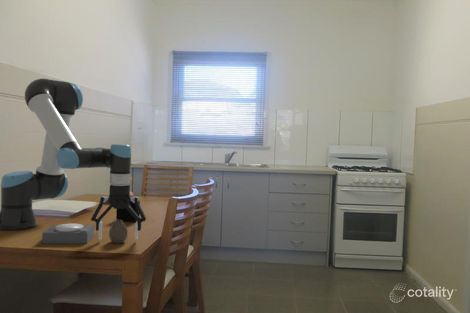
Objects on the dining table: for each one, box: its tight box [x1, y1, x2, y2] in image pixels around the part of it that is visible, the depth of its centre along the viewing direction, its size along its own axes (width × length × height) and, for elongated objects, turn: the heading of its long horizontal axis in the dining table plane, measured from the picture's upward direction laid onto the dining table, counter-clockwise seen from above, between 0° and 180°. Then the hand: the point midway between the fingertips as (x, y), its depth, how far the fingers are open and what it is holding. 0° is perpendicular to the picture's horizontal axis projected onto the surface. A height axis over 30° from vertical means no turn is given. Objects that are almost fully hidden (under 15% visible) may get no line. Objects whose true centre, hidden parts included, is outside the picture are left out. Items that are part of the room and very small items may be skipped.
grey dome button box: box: [41, 223, 95, 245], centre depth 148 cm, size 16×12×5 cm
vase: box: [108, 219, 129, 244], centre depth 147 cm, size 7×7×9 cm
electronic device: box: [115, 199, 141, 223], centre depth 184 cm, size 4×10×10 cm, turn 78°
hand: (118, 239), depth 147 cm, fingers open, 13 cm apart
